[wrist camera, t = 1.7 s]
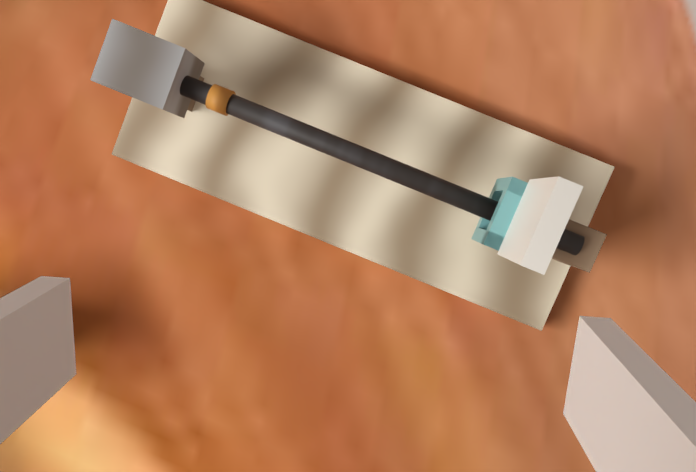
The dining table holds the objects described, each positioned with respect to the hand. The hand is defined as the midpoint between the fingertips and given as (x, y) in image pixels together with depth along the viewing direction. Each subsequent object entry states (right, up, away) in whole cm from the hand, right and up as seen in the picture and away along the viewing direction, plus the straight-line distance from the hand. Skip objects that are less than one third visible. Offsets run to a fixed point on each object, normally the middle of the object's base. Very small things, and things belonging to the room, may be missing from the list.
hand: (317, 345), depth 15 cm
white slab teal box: (+11, +4, +20) cm, 23 cm away
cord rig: (+2, +8, +26) cm, 27 cm away
